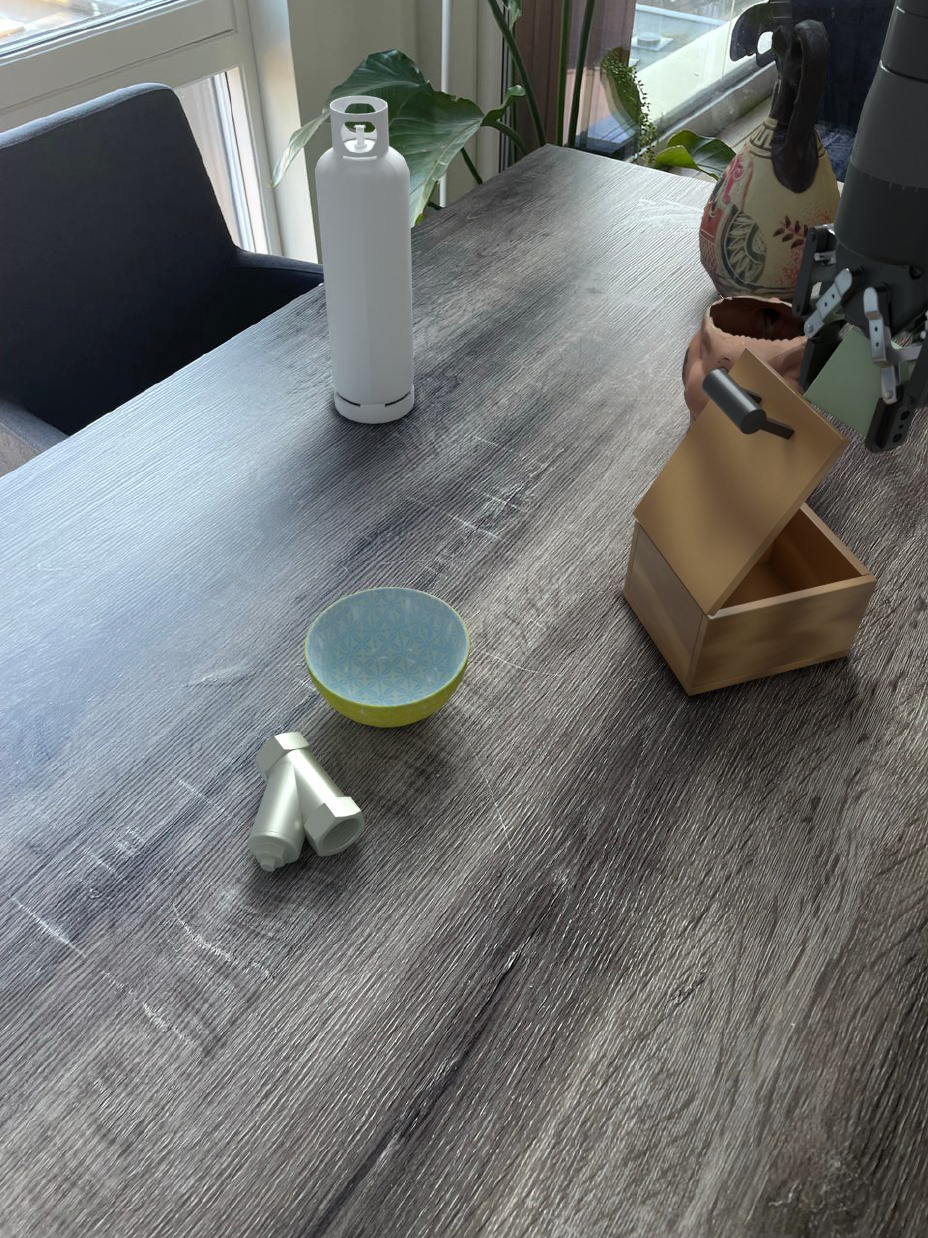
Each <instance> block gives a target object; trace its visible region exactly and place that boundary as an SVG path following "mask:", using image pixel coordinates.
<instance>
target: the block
mask: <svg viewBox="0 0 928 1238" xmlns="http://www.w3.org/2000/svg"><path fill="white" fill-rule="evenodd" d="M891 343H892V346H893V347H894V348H895V349H900V348H903V346H901V345H900V344H898V343H896V342H894V340H891ZM900 377H901V382H902V381H907V380H909V378H908V364H907V362H906V361H903V362H902V363H901V364H900ZM803 397H804V398H805V399H807V400H808V401H810V402H811V403H810V404H813V406H814V405H815V407H817V408H819V409H820V410H822V411H824V412H825V413H827V414H829V415H830V416H831V417H833V418H835V419H837V420H838V421H839V422H841V423H842V424H844V425H846V426H847V427H849V428H850V429H852V430H853V431H855V432H856V433H858V434H860V435H861V436H863V437H864V438H866V436H867V433H868V430H869V427H870V424H871V421H872V418H873V415H874V411H875V408H876V405H877V402H878V399H879V398H881V397H882V390H881V377H880V368H879V367H878V366H877V365H875V364H874V363H873V362H872V355H871V342H870V339H868V338H867V337H866V336H865V335H864V333H863V332H862V331H861V329H860V328H859V327H856V326H853V327H851V328H850V329H849V331H848V332H847V333H846V335H845V336H844V338H843V341H842V342H841V343H840V345H839V346H838V348H837V349H836V351H835V352H834V353H833V355H832V356H831V358H830V359H829V361H828V362H827V363H826V365H825V366H824V368H823V369H822V370H821V372H820V373H819V375H818V376H817V378H816V379H815V380H814V382H813V383H812V385H811V386H810V387H809V389H808V390H807V392H806V393H805V395H804V396H803Z"/></svg>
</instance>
